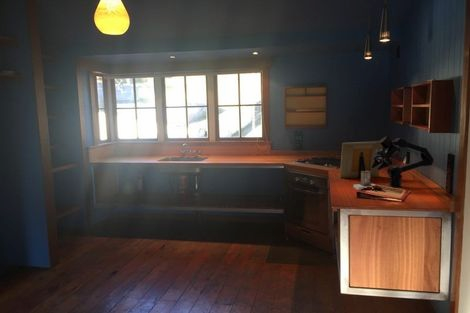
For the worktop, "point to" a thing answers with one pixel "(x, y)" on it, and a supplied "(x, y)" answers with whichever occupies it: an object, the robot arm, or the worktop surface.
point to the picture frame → (358, 159)
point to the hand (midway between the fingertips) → (374, 168)
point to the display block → (361, 186)
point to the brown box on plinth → (365, 178)
